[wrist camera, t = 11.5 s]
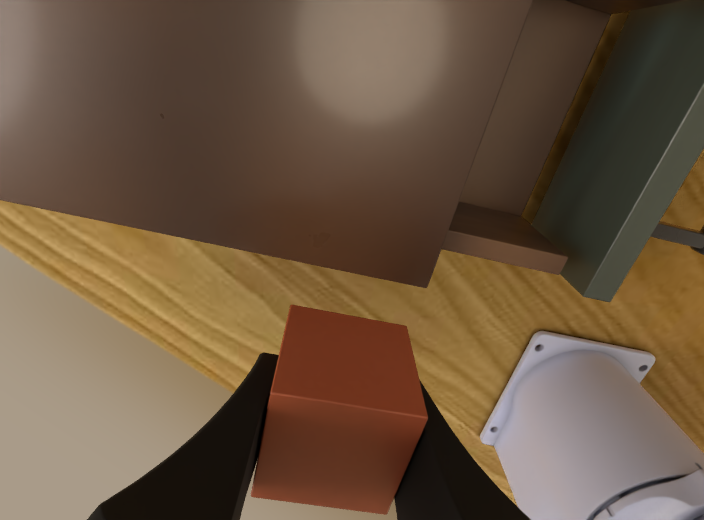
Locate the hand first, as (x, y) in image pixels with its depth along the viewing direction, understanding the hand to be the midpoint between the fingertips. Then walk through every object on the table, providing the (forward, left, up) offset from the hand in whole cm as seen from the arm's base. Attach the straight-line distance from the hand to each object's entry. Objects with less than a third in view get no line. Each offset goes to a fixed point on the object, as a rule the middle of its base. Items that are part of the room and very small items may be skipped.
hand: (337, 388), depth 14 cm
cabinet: (+10, +5, -9) cm, 14 cm away
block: (0, 0, -1) cm, 1 cm away
